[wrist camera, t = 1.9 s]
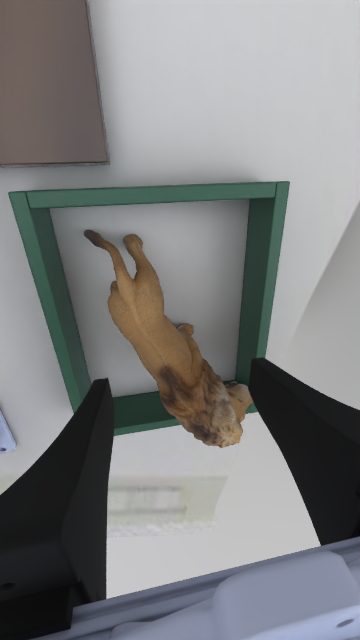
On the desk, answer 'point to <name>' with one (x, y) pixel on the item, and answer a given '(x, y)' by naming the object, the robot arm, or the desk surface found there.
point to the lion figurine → (172, 352)
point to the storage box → (39, 230)
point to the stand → (49, 86)
